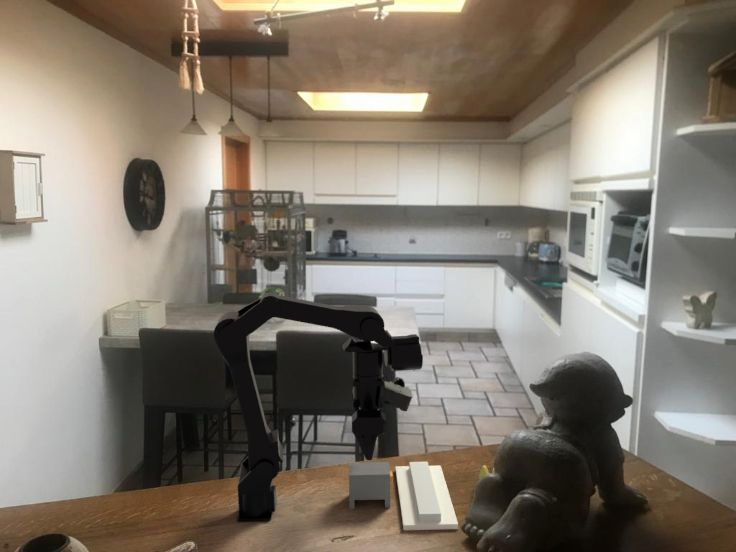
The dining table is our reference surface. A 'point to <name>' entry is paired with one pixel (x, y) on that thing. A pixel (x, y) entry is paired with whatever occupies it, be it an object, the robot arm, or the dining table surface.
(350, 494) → the din module
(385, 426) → the robot arm
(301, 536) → the dining table surface
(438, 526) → the rail plate
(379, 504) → the dining table surface
